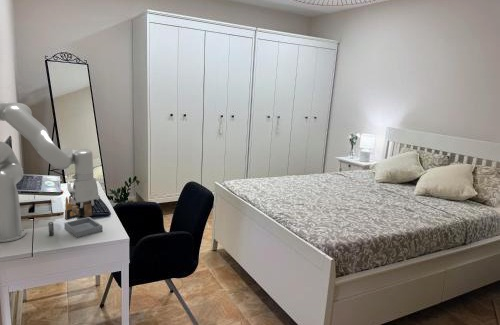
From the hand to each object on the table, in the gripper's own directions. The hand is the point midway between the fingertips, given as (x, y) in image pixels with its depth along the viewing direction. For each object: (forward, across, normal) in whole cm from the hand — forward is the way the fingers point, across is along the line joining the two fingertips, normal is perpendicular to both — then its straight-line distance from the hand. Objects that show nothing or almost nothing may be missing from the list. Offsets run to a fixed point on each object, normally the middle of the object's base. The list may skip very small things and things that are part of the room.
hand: (86, 213), depth 164 cm
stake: (+9, -13, +7) cm, 18 cm away
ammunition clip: (+10, +4, +22) cm, 24 cm away
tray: (+9, 0, +3) cm, 10 cm away
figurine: (+10, +11, +37) cm, 40 cm away
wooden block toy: (+1, 0, +3) cm, 3 cm away
